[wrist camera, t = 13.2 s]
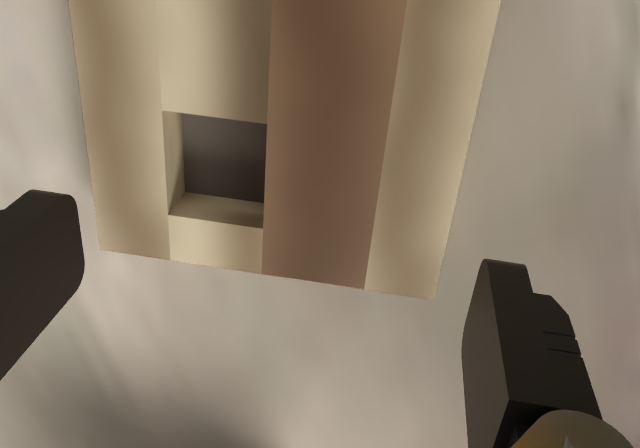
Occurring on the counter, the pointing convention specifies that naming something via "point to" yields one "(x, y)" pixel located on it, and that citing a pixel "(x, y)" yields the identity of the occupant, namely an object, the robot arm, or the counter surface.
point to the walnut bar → (327, 134)
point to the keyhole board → (262, 131)
